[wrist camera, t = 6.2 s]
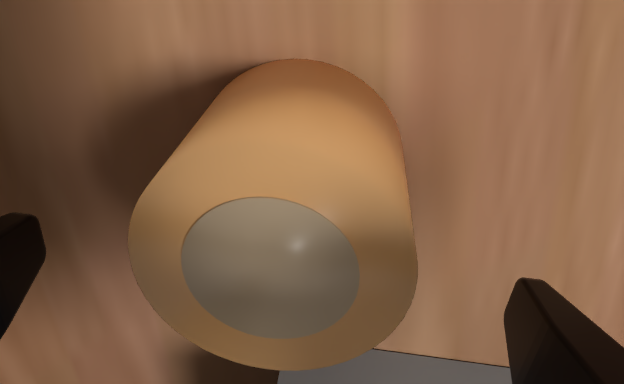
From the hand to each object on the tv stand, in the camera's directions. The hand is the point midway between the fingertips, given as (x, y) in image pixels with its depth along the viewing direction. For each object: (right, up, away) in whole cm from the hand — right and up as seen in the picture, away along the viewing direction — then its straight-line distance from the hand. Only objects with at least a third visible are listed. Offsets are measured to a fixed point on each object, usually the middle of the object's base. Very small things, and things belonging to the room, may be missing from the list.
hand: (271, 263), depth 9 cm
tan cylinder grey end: (+1, +2, +3) cm, 4 cm away
